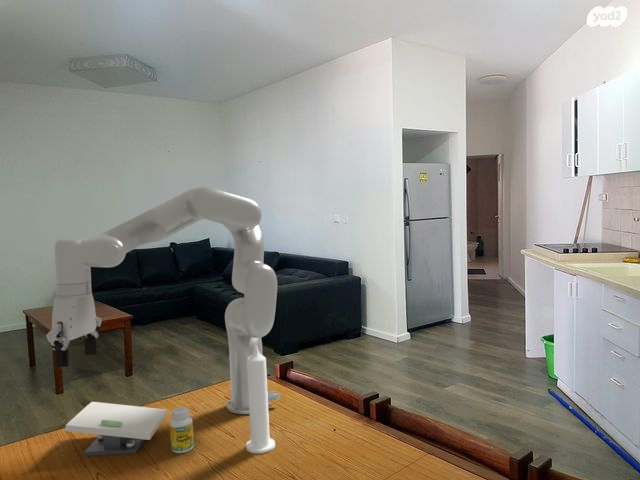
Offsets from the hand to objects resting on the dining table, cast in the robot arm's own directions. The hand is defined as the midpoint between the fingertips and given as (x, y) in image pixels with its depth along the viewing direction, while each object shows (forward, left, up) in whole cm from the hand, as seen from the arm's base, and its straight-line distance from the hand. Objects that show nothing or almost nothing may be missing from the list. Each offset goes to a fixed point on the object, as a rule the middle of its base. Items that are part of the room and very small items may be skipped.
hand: (77, 360), depth 119 cm
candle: (-43, +2, -23) cm, 49 cm away
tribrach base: (-7, -4, -23) cm, 24 cm away
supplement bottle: (-24, +1, -23) cm, 33 cm away
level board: (-7, -4, -18) cm, 19 cm away
